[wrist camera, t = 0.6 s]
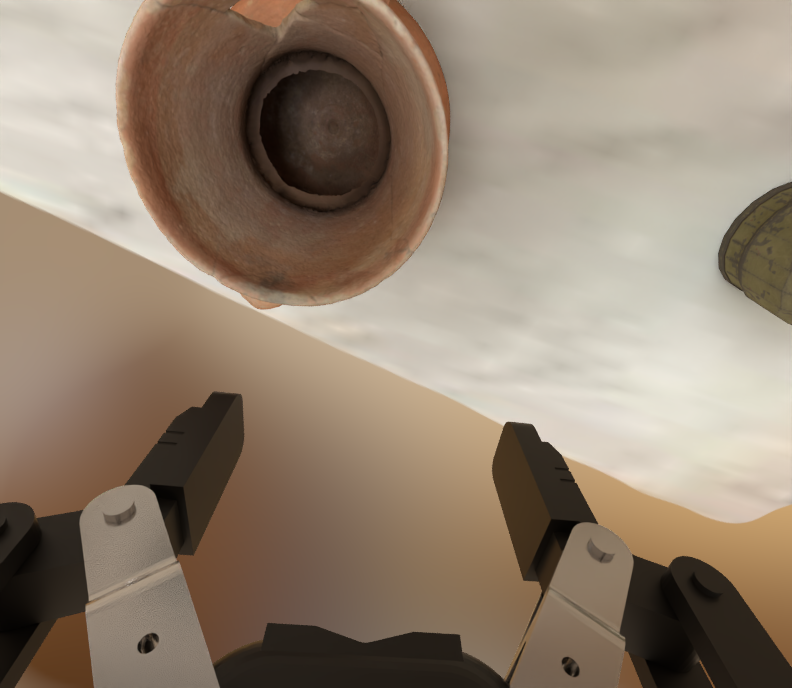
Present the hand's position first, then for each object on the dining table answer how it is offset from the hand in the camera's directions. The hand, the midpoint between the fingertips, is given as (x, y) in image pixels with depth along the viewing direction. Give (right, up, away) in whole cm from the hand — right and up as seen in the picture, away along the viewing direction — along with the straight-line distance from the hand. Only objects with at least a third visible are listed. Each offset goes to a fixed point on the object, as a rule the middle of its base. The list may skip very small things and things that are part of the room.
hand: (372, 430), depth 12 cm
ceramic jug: (-4, +17, +15) cm, 23 cm away
